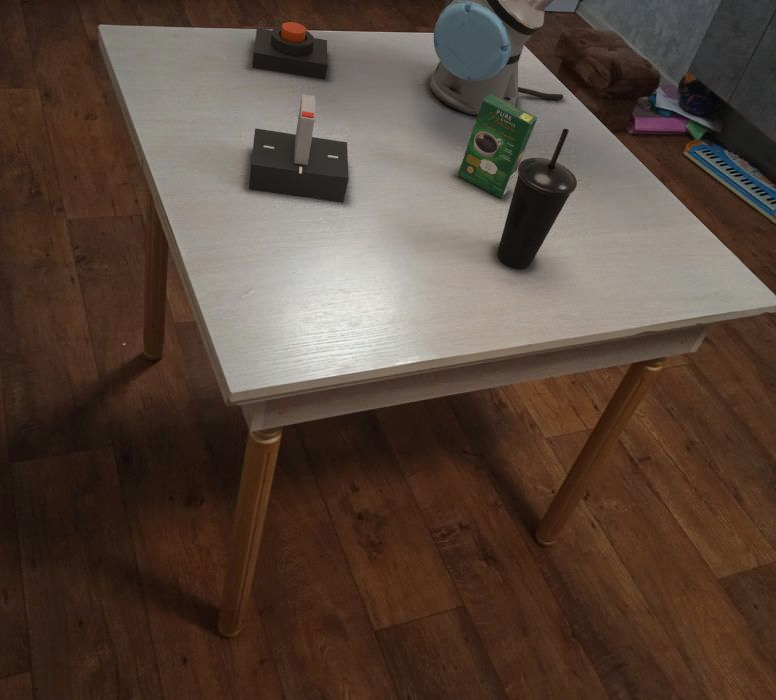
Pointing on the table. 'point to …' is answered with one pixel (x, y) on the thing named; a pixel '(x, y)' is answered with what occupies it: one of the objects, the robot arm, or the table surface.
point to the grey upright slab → (304, 129)
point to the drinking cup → (534, 207)
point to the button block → (290, 54)
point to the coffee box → (496, 145)
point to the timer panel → (299, 167)
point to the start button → (293, 32)
